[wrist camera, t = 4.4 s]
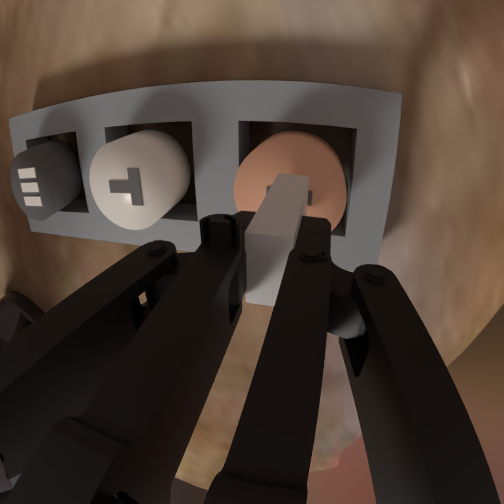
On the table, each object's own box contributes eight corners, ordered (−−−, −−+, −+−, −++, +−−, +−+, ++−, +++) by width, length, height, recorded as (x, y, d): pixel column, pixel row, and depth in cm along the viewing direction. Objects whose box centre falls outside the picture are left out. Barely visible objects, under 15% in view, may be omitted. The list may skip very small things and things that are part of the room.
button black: (44, 203, 25) (18, 219, 22) (32, 143, 22) (4, 155, 19) (87, 205, 24) (60, 223, 21) (76, 136, 21) (44, 148, 18)
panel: (49, 219, 29) (31, 231, 27) (30, 112, 23) (8, 118, 21) (370, 251, 23) (374, 273, 21) (392, 92, 17) (402, 93, 15)
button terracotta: (248, 216, 21) (234, 241, 18) (248, 127, 18) (231, 137, 15) (338, 225, 20) (339, 252, 17) (347, 134, 17) (352, 145, 14)
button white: (124, 207, 23) (97, 227, 20) (114, 132, 20) (82, 143, 17) (193, 211, 22) (171, 234, 19) (188, 127, 19) (161, 137, 16)
